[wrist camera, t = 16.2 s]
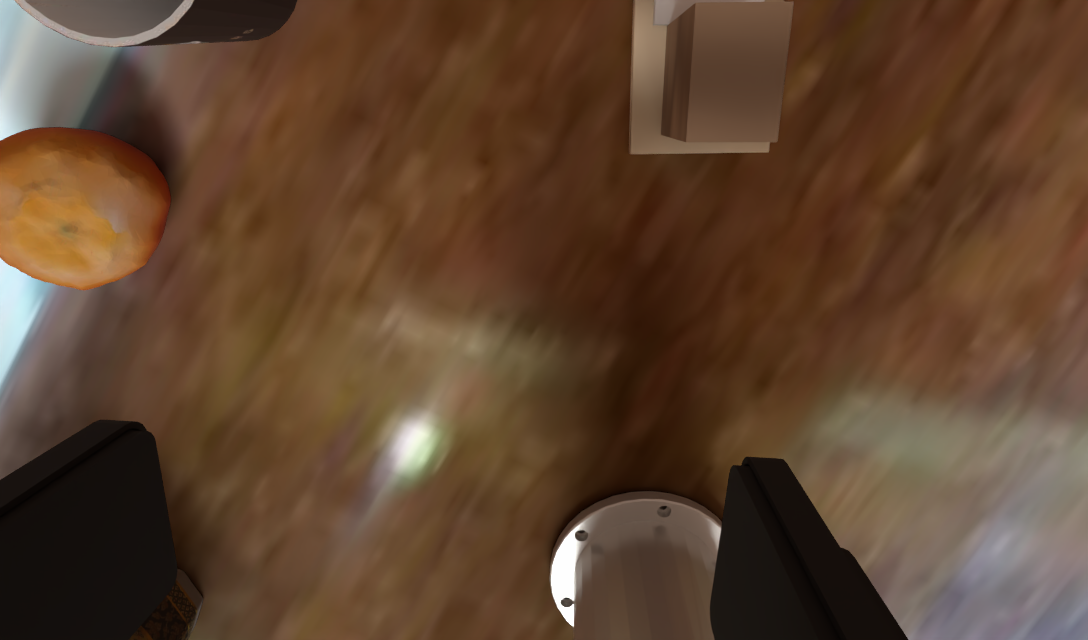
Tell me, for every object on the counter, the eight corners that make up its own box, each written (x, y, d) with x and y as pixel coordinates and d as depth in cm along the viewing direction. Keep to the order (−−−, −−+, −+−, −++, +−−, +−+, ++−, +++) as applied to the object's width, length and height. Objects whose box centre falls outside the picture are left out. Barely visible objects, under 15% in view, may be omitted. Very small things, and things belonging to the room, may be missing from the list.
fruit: (12, 73, 31) (-33, 117, 25) (187, 137, 35) (185, 188, 30) (-21, 212, 33) (-69, 283, 27) (147, 255, 38) (138, 324, 32)
